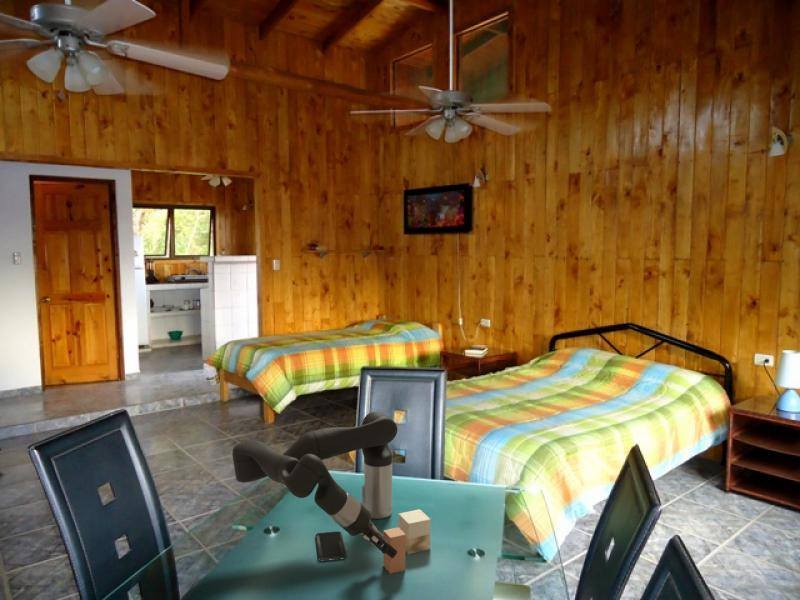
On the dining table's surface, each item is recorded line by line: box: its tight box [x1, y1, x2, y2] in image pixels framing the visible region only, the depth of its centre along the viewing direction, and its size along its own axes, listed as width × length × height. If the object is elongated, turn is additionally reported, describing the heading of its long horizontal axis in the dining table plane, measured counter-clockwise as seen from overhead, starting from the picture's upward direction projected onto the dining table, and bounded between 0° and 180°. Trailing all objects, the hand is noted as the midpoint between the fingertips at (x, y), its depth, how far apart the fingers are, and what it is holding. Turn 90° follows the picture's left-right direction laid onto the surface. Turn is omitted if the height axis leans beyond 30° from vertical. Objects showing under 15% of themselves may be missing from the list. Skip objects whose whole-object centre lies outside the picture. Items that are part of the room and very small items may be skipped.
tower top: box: [397, 508, 432, 539], centre depth 168 cm, size 7×7×4 cm
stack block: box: [382, 526, 406, 574], centre depth 156 cm, size 4×4×10 cm
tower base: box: [405, 533, 431, 555], centre depth 168 cm, size 7×7×4 cm
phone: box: [315, 531, 347, 560], centre depth 167 cm, size 8×1×15 cm
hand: (388, 547), depth 155 cm, fingers open, 8 cm apart
